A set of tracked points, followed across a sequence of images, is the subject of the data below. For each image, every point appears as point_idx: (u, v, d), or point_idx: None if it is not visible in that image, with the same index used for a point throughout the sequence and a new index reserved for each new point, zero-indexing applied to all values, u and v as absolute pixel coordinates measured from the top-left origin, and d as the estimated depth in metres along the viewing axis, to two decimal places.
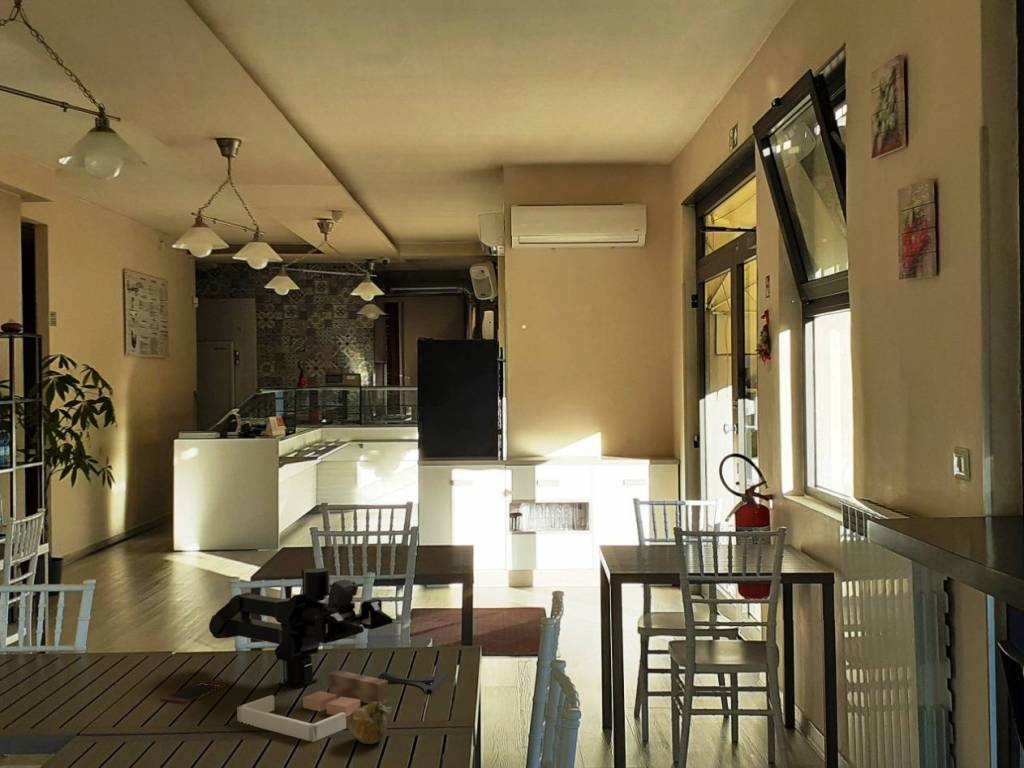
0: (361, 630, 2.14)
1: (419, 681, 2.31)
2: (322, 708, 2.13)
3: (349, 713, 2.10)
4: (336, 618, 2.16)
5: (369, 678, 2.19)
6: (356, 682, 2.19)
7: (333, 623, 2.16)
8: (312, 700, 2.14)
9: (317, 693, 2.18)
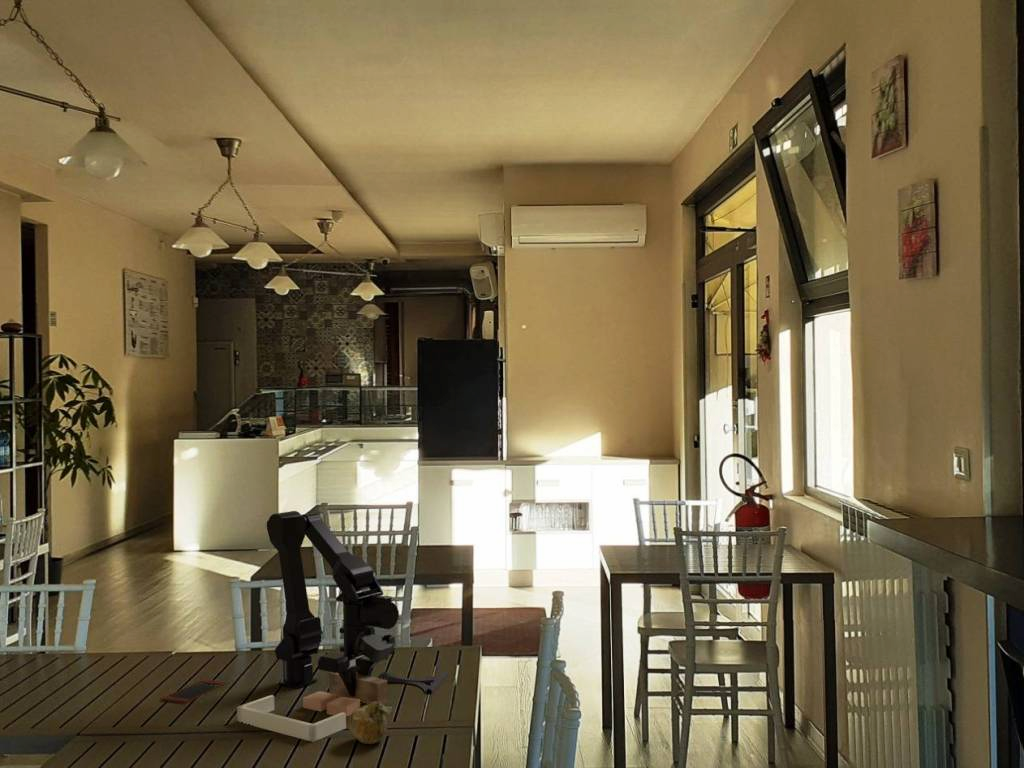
0: (351, 695, 2.19)
1: (419, 681, 2.31)
2: (323, 708, 2.13)
3: (350, 713, 2.10)
4: (352, 672, 2.16)
5: (369, 678, 2.19)
6: (356, 681, 2.19)
7: None
8: (312, 700, 2.14)
9: (317, 693, 2.18)
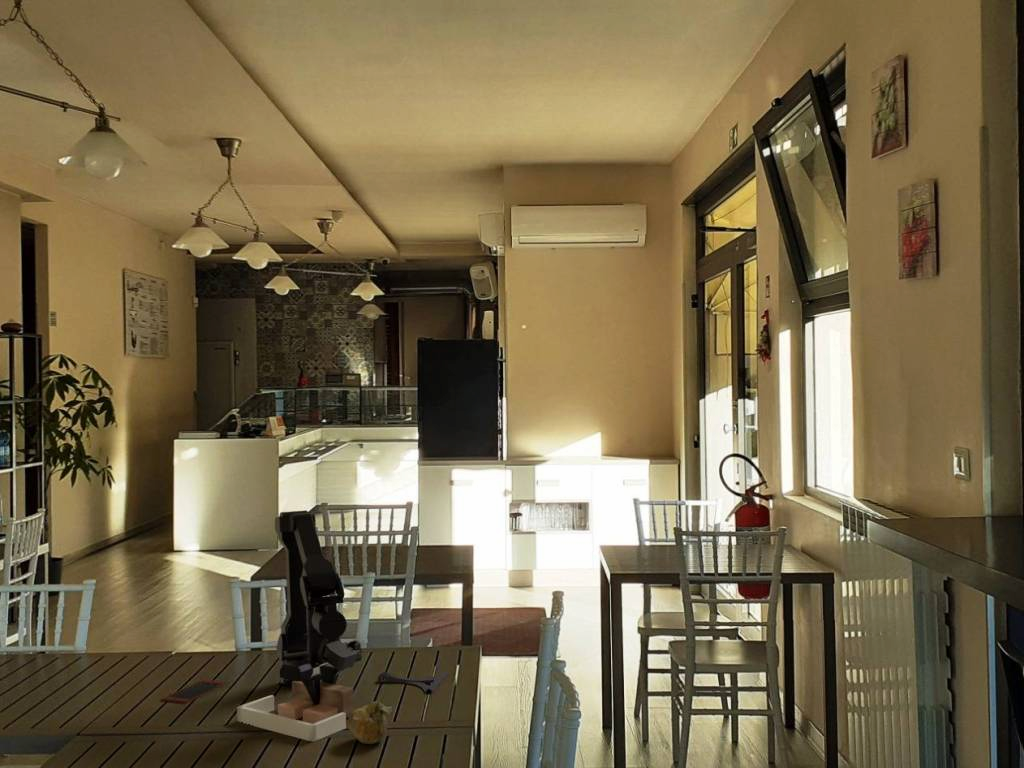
0: (315, 704, 2.10)
1: (419, 681, 2.31)
2: (297, 716, 2.08)
3: None
4: (316, 680, 2.08)
5: (334, 686, 2.10)
6: (320, 690, 2.10)
7: None
8: (287, 708, 2.09)
9: (292, 700, 2.13)
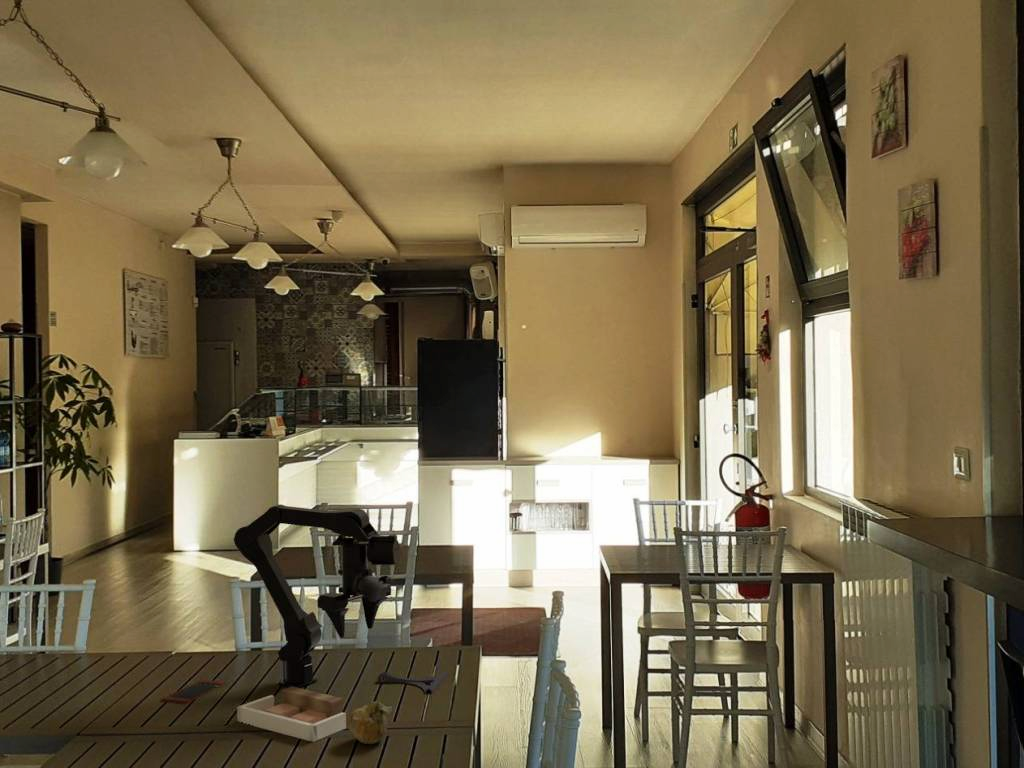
0: (340, 636, 2.26)
1: (419, 681, 2.31)
2: None
3: None
4: (341, 613, 2.24)
5: (323, 696, 2.08)
6: (309, 699, 2.07)
7: None
8: (273, 713, 2.06)
9: (280, 705, 2.10)
